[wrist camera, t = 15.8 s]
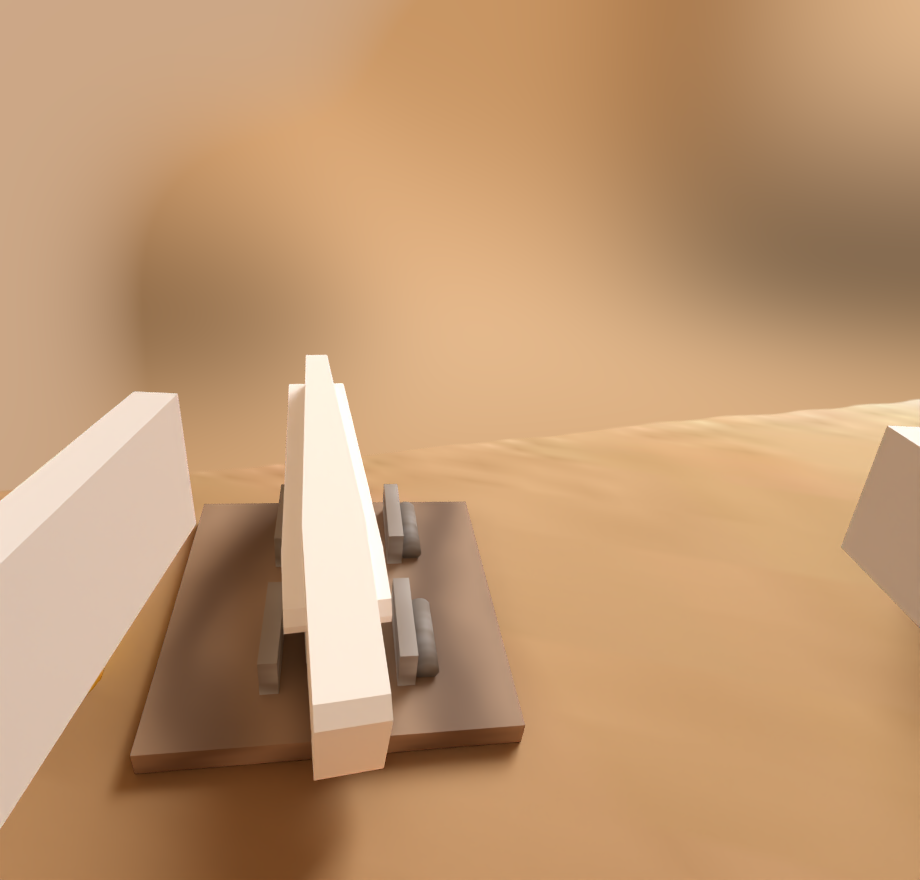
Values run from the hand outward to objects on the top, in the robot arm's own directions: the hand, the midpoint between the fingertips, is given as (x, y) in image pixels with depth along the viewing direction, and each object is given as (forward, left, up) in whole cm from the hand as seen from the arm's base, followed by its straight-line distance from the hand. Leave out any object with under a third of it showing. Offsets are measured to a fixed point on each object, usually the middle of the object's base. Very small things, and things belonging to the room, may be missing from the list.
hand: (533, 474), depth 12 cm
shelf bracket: (+4, -20, -24) cm, 32 cm away
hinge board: (+3, -21, -26) cm, 33 cm away
